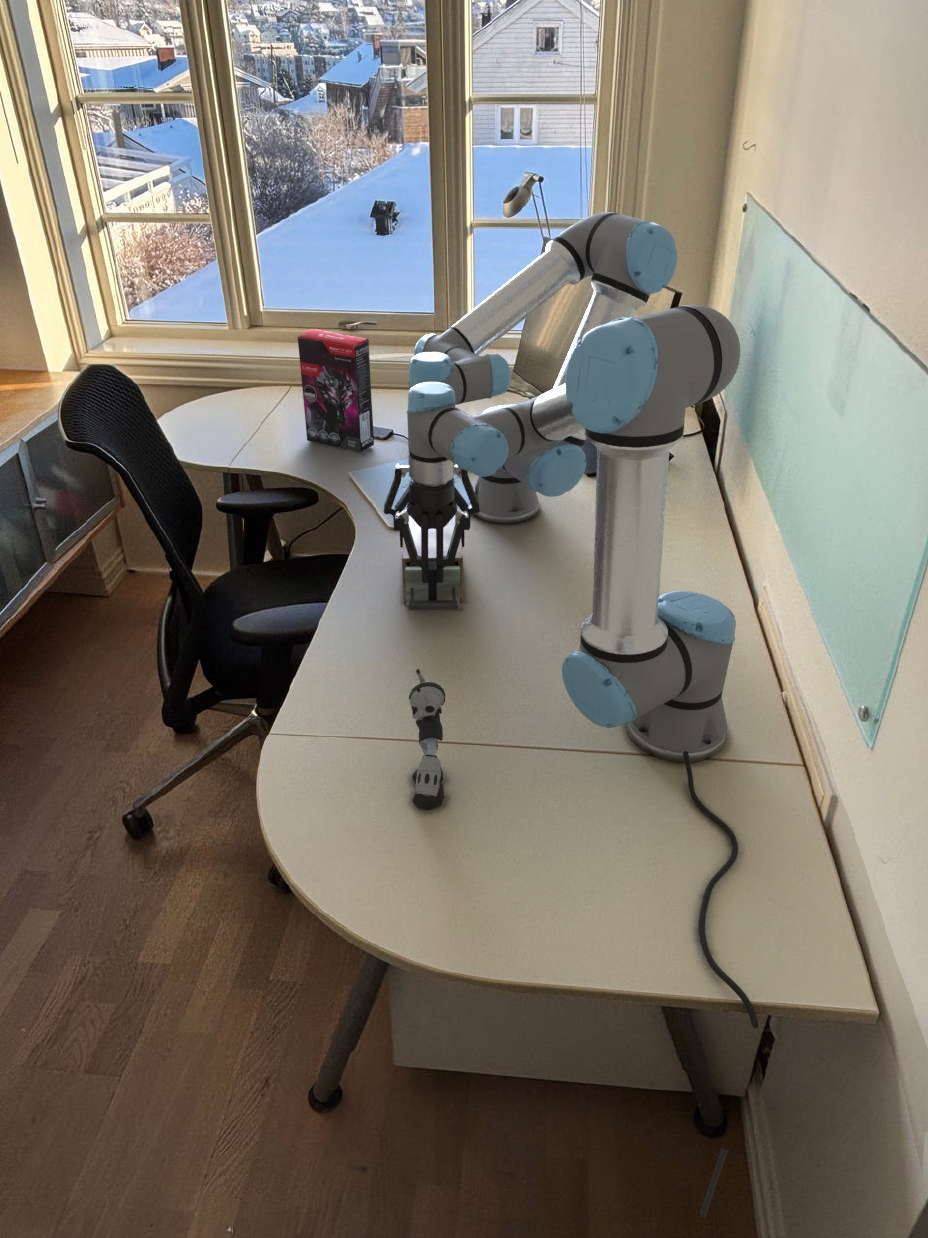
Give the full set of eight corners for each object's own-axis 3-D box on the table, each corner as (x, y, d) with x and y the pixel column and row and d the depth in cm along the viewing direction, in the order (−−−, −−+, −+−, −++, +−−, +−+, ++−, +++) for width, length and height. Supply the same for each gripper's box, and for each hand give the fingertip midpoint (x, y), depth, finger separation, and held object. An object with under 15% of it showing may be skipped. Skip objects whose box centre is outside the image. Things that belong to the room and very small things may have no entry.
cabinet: (462, 602, 173) (462, 557, 168) (403, 602, 173) (402, 558, 167) (459, 557, 187) (459, 514, 182) (405, 557, 187) (403, 515, 181)
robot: (448, 840, 124) (447, 726, 113) (411, 841, 124) (407, 727, 112) (443, 742, 140) (442, 634, 129) (411, 743, 140) (408, 635, 129)
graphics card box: (304, 441, 235) (294, 334, 220) (320, 432, 240) (311, 327, 225) (361, 455, 228) (354, 345, 213) (376, 445, 233) (371, 337, 218)
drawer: (460, 624, 165) (461, 587, 161) (405, 625, 165) (404, 588, 161) (457, 562, 184) (457, 527, 179) (407, 562, 183) (406, 528, 179)
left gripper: (493, 431, 173) (490, 534, 185) (368, 431, 172) (373, 535, 184) (495, 447, 167) (492, 552, 179) (365, 448, 166) (371, 553, 178)
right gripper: (470, 467, 156) (468, 585, 169) (392, 467, 155) (396, 585, 169) (472, 487, 150) (469, 608, 163) (391, 487, 149) (395, 608, 162)
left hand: (432, 543), depth 182 cm, fingers closed on cabinet, 11 cm apart
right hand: (432, 596), depth 166 cm, fingers closed
